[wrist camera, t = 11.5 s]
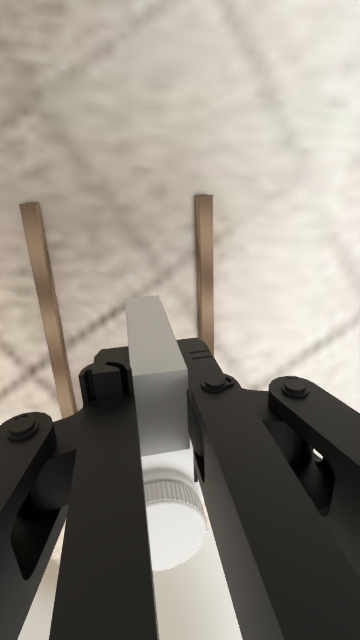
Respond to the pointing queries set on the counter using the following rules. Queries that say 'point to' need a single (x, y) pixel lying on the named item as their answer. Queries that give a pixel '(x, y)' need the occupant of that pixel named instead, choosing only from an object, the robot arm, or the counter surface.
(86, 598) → the robot arm
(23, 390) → the counter surface
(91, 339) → the counter surface
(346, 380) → the counter surface
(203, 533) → the pill bottle
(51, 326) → the guide channel
